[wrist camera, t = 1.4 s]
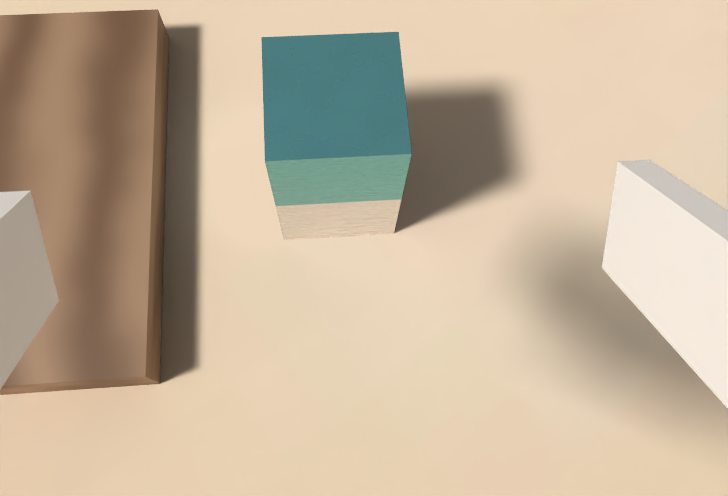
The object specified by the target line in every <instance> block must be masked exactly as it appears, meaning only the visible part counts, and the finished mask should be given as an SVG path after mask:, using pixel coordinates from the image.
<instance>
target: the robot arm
mask: <svg viewBox="0 0 728 496" xmlns="http://www.w3.org/2000/svg"><path fill="white" fill-rule="evenodd" d="M602 269H603V270H604V271H605V272H606V273H607V274H608V275H609V277H610V278H611V279H612V280H613V281H614V282H615V283H616V284H617V285H618V287H619V288H620V289H621V290H622V291H623V292H624V293H625V294H626V296H627V297H628V298H629V299H630V300H631V301H632V302H633V303H634V304H635V306H636V307H637V308H638V309H639V310H640V311H641V312H642V313H643V315H644V316H645V317H646V318H647V319H648V320H649V321H650V322H651V323H652V325H653V326H654V327H655V328H656V329H657V330H658V331H659V332H660V334H661V335H662V336H663V337H664V338H665V339H666V340H667V341H668V342H669V344H670V345H671V346H672V347H673V348H674V349H675V350H676V351H677V353H678V354H679V355H680V356H681V357H682V358H683V359H684V360H685V361H686V363H687V364H688V365H689V366H690V367H691V368H692V369H693V370H694V372H695V373H696V374H697V375H698V376H699V377H700V378H701V379H702V380H703V382H704V383H705V384H706V385H707V386H708V387H709V388H710V389H711V391H712V392H713V393H714V394H715V395H716V396H717V397H718V398H719V399H720V401H721V402H722V403H723V404H724V405H725V406H726V407H727V408H728V210H726V209H724V208H723V207H721V206H720V205H718V204H717V203H715V202H714V201H712V200H711V199H709V198H708V197H706V196H705V195H703V194H701V193H700V192H698V191H697V190H695V189H694V188H692V187H691V186H689V185H688V184H686V183H685V182H683V181H682V180H680V179H678V178H677V177H675V176H674V175H672V174H671V173H669V172H668V171H666V170H665V169H663V168H662V167H660V166H659V165H657V164H655V163H654V162H652V161H651V160H641V161H620V162H618V165H617V172H616V178H615V185H614V191H613V198H612V204H611V211H610V217H609V224H608V230H607V237H606V243H605V250H604V256H603V263H602ZM58 301H59V299H58V295H57V291H56V287H55V283H54V279H53V275H52V272H51V268H50V264H49V260H48V256H47V252H46V248H45V245H44V241H43V237H42V233H41V229H40V225H39V222H38V218H37V214H36V210H35V206H34V202H33V198H32V195H31V191H12V192H0V389H1V388H2V386H3V385H4V383H5V382H6V380H7V379H8V377H9V376H10V374H11V373H12V371H13V370H14V368H15V367H16V365H17V364H18V362H19V361H20V359H21V357H22V356H23V354H24V353H25V351H26V350H27V348H28V347H29V345H30V344H31V342H32V341H33V339H34V338H35V336H36V335H37V333H38V332H39V330H40V329H41V327H42V326H43V324H44V323H45V321H46V320H47V318H48V317H49V315H50V314H51V312H52V311H53V309H54V307H55V306H56V304H57V303H58Z"/></svg>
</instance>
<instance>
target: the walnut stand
mask: <svg viewBox="0 0 728 496" xmlns="http://www.w3.org/2000/svg"><path fill="white" fill-rule="evenodd" d="M168 61H169V37H168V34H167V32H166V29H165V26H164V24H163V21H162V19H161V16H160V14H159V11H158V10H133V11H107V12H80V13H54V14H27V15H0V192H12V191H31V195H32V198H33V202H34V206H35V210H36V214H37V218H38V222H39V225H40V229H41V233H42V237H43V241H44V245H45V248H46V252H47V256H48V260H49V264H50V268H51V272H52V275H53V279H54V283H55V287H56V291H57V295H58V299H59V301H58V303H57V304H56V306H55V307H54V309H53V311H52V312H51V314H50V315H49V317H48V318H47V320H46V321H45V323H44V324H43V326H42V327H41V329H40V330H39V332H38V333H37V335H36V336H35V338H34V339H33V341H32V342H31V344H30V345H29V347H28V348H27V350H26V351H25V353H24V354H23V356H22V357H21V359H20V361H19V362H18V364H17V365H16V367H15V368H14V370H13V371H12V373H11V374H10V376H9V377H8V379H7V380H6V382H5V383H4V385H3V386H2V388H1V389H0V395H4V394H18V393H33V392H47V391H62V390H76V389H91V388H105V387H120V386H134V385H149V384H160V359H161V322H162V284H163V247H164V210H165V173H166V136H167V99H168Z"/></svg>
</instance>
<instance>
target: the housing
mask: <svg viewBox="0 0 728 496" xmlns="http://www.w3.org/2000/svg"><path fill="white" fill-rule="evenodd" d="M262 67H263V103H264V140H265V163H266V167H267V171H268V176H269V180H270V184H271V188H272V192H273V196H274V200H275V205H276V209H277V213H278V217H279V221H280V225H281V230H282V234H283V238H284V240H288V239H305V238H323V237H340V236H358V235H375V234H392V233H394V231H395V226H396V222H397V218H398V213H399V209H400V204H401V200H402V195H403V191H404V186H405V182H406V177H407V173H408V168H409V164H410V159H411V155H412V153H411V143H410V134H409V125H408V116H407V106H406V97H405V88H404V79H403V69H402V60H401V51H400V42H399V32H384V33H359V34H334V35H310V36H285V37H262Z"/></svg>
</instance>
